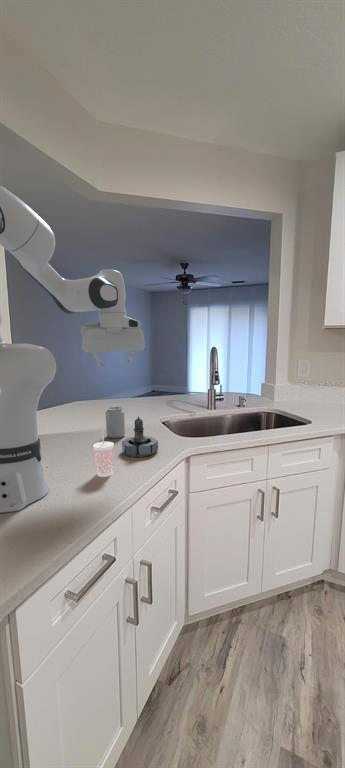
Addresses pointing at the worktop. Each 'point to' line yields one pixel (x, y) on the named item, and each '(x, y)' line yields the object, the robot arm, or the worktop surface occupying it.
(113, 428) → the can
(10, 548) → the worktop surface
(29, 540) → the worktop surface
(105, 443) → the beverage cup
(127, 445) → the metal ring collar
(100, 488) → the worktop surface
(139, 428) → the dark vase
